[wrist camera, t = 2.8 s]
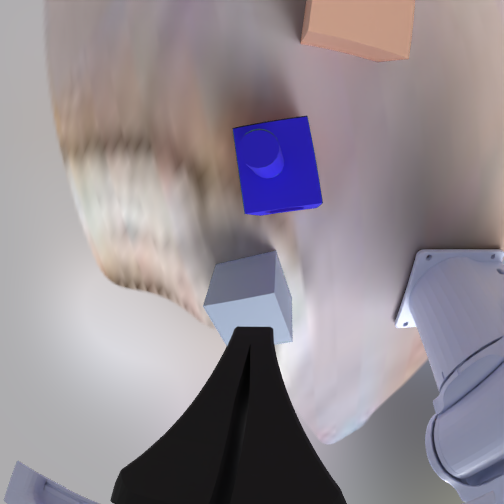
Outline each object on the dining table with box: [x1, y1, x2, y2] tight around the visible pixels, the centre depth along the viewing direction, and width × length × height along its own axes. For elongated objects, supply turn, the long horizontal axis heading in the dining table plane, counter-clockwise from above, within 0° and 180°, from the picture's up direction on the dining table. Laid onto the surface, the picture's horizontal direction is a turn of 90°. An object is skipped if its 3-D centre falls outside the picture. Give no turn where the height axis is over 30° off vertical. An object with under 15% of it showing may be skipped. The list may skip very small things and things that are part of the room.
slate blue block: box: [203, 251, 292, 345], centre depth 20 cm, size 4×4×4 cm
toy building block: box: [233, 116, 323, 216], centre depth 14 cm, size 4×4×8 cm
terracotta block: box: [300, 0, 415, 62], centre depth 10 cm, size 4×4×4 cm
